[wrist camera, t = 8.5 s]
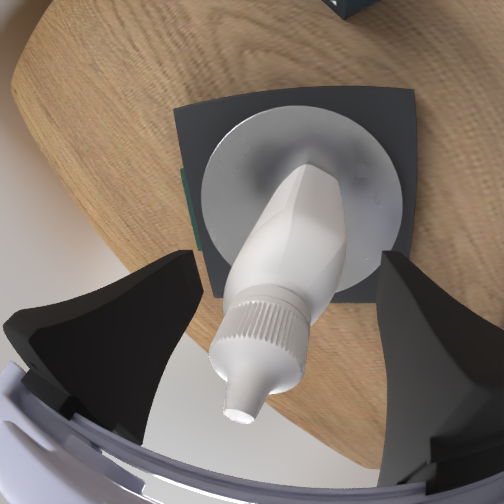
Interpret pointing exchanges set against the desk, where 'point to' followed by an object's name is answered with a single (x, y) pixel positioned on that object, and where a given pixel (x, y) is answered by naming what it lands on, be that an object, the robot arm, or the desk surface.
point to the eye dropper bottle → (279, 291)
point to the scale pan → (290, 158)
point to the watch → (348, 6)
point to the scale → (328, 97)
